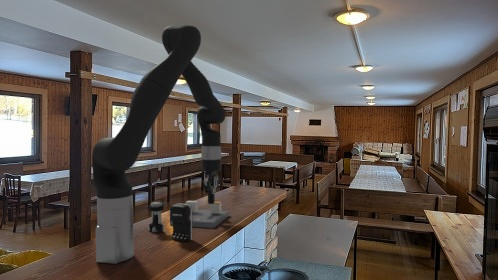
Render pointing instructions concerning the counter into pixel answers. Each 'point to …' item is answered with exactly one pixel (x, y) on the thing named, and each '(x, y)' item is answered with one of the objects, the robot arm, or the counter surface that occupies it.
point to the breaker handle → (215, 207)
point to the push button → (156, 217)
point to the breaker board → (205, 216)
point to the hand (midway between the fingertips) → (211, 203)
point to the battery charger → (181, 222)
